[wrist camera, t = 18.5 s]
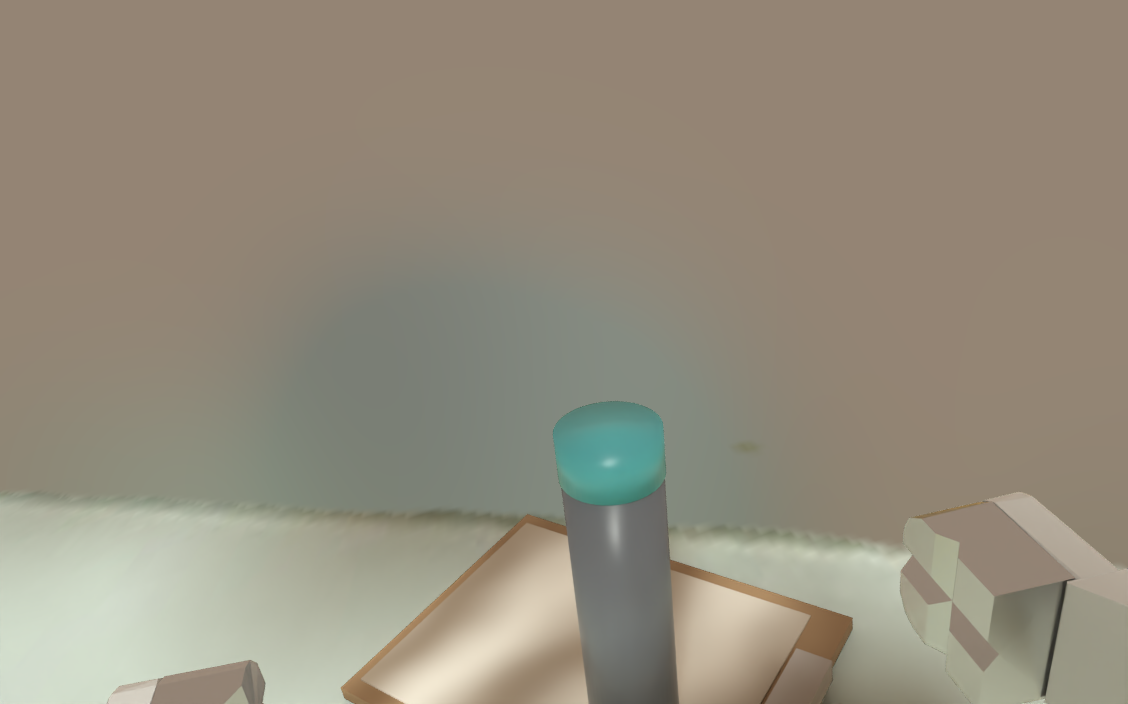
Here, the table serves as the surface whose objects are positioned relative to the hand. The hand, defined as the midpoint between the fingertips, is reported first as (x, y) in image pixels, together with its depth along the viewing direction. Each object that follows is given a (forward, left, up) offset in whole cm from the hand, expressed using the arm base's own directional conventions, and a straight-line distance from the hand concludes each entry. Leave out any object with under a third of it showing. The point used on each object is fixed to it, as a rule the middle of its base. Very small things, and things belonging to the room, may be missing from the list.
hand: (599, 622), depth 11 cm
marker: (-8, +10, -19) cm, 23 cm away
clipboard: (-12, +14, -20) cm, 27 cm away
